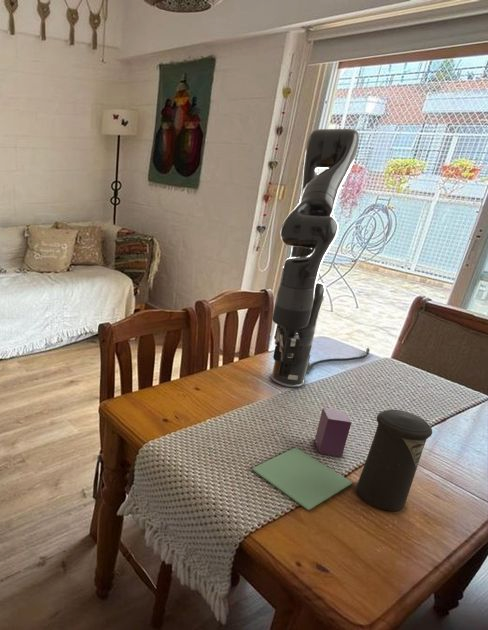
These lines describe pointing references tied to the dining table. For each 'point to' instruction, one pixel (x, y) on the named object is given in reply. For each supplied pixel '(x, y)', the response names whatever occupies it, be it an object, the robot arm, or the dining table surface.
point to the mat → (302, 478)
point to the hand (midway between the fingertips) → (280, 367)
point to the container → (393, 459)
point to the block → (332, 432)
